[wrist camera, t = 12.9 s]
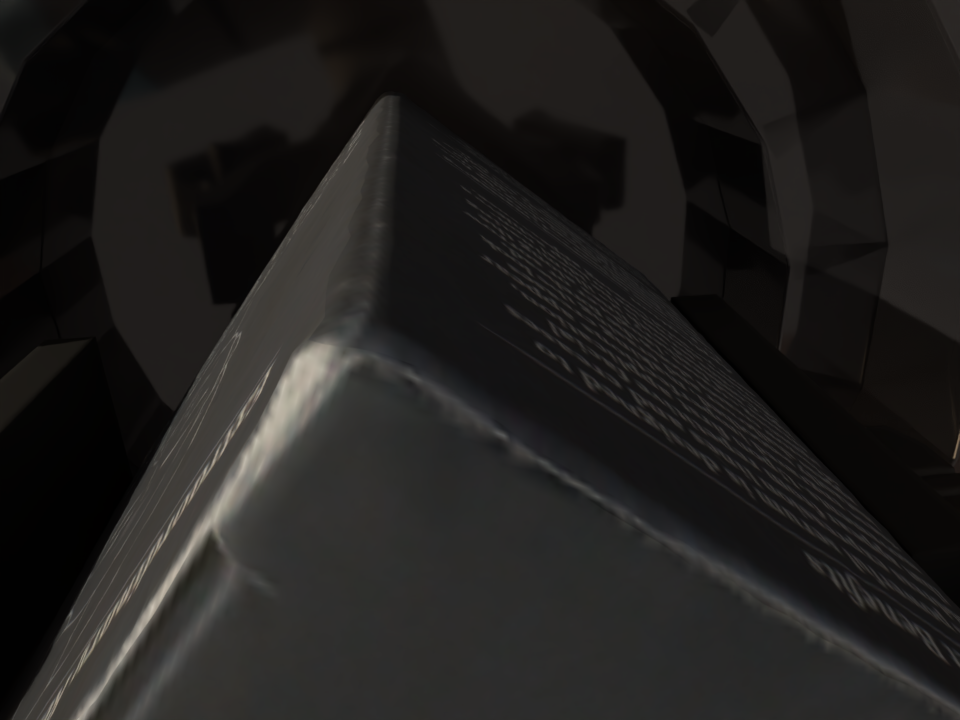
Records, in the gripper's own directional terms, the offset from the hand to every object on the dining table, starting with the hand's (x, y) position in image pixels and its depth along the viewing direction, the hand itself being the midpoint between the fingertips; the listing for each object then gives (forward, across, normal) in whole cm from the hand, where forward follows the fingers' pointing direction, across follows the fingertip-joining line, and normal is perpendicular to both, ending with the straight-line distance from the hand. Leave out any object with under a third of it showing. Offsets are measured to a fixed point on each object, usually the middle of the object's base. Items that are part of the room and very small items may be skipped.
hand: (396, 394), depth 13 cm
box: (+2, 0, 0) cm, 2 cm away
